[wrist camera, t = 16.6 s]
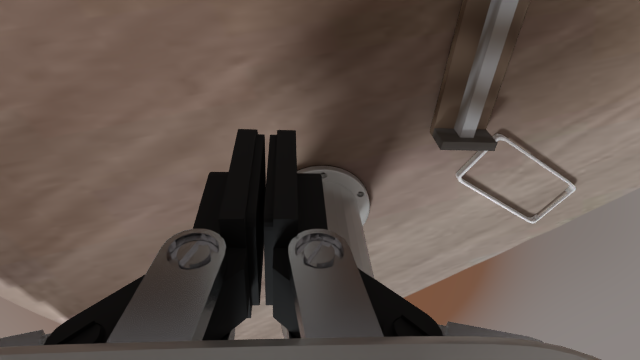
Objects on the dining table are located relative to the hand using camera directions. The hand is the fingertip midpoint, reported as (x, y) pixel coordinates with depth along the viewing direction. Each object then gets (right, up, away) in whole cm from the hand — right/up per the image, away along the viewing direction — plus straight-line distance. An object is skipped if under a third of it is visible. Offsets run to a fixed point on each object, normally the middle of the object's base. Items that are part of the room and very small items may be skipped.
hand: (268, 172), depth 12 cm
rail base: (+18, +15, +27) cm, 35 cm away
